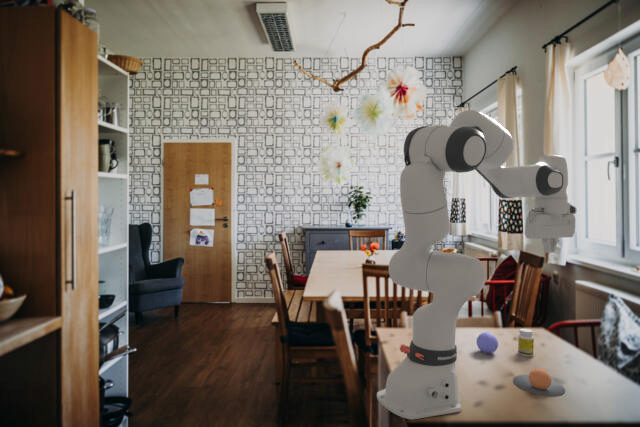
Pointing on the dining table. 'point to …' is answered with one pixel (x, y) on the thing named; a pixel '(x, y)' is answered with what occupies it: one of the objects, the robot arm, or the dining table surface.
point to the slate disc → (525, 384)
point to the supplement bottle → (525, 342)
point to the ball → (540, 379)
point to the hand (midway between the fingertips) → (549, 252)
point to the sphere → (487, 342)
